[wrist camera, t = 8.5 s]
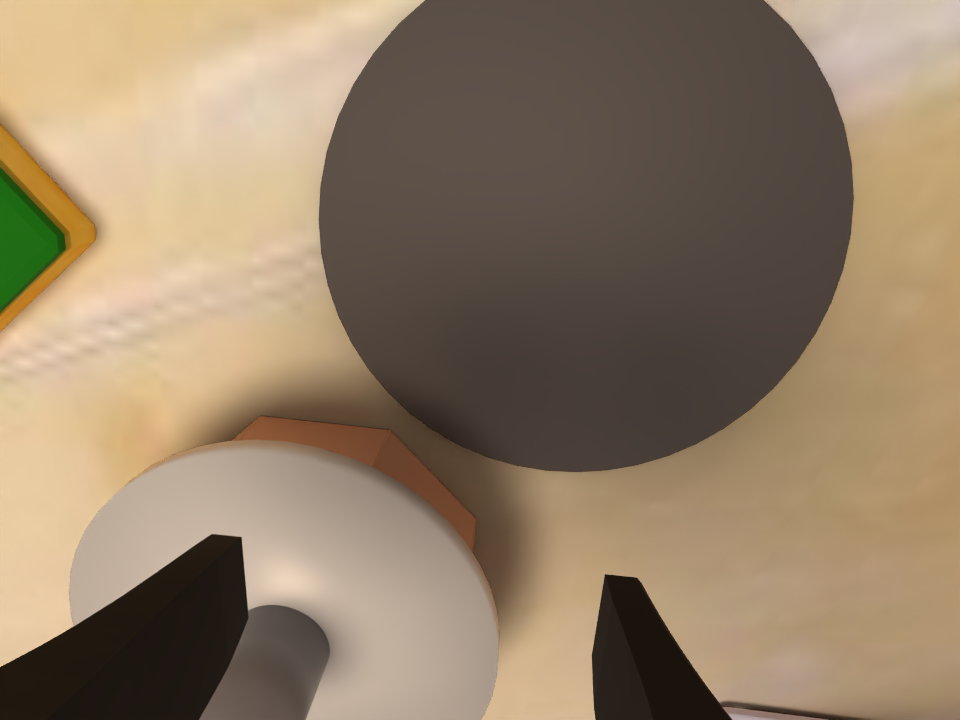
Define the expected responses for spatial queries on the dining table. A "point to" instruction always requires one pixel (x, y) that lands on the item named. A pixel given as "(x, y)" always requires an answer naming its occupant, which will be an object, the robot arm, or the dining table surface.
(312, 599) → the lid
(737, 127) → the mat
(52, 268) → the dish sponge
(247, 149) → the dining table surface
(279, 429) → the bowl
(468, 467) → the dining table surface
